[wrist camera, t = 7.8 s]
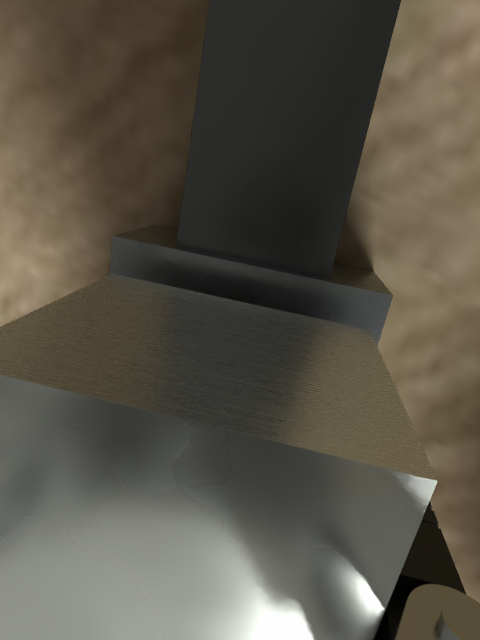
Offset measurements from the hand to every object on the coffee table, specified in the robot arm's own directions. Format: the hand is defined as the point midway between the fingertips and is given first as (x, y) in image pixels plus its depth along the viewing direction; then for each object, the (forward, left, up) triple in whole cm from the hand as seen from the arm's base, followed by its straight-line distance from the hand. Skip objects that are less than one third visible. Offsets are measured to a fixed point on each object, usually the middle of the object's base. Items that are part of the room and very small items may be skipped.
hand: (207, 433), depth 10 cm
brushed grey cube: (0, 0, -1) cm, 1 cm away
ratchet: (-6, 0, -5) cm, 8 cm away
